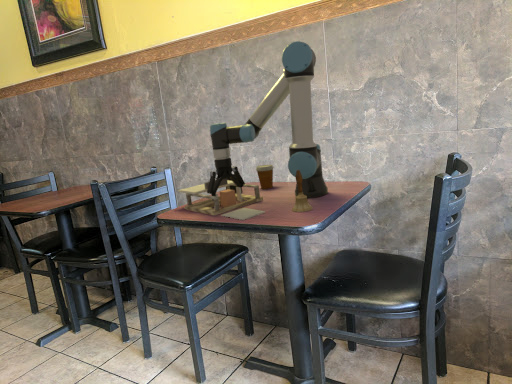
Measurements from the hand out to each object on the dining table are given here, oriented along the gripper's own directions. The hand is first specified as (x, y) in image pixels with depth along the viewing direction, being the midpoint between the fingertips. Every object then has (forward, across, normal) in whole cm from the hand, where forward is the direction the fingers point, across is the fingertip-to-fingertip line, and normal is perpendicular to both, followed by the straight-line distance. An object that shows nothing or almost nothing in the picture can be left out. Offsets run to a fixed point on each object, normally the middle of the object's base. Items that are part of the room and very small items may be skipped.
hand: (228, 204), depth 170 cm
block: (+1, 0, 0) cm, 1 cm away
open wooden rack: (+1, 0, -4) cm, 4 cm away
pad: (+1, +7, +19) cm, 20 cm away
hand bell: (+1, -9, +37) cm, 38 cm away
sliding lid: (-7, 0, -15) cm, 16 cm away
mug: (+1, -21, -23) cm, 31 cm away
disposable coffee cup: (+1, -35, -12) cm, 37 cm away
